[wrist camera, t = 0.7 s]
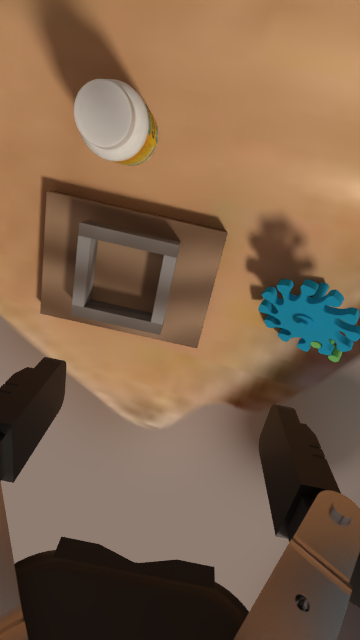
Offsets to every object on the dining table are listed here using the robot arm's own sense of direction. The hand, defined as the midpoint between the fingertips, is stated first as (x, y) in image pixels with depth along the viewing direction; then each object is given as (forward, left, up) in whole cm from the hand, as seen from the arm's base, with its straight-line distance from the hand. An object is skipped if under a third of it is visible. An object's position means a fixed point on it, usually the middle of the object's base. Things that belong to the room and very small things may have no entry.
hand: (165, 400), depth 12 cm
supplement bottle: (-11, -8, -24) cm, 28 cm away
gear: (+2, +13, -24) cm, 28 cm away
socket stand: (+2, -6, -24) cm, 25 cm away
